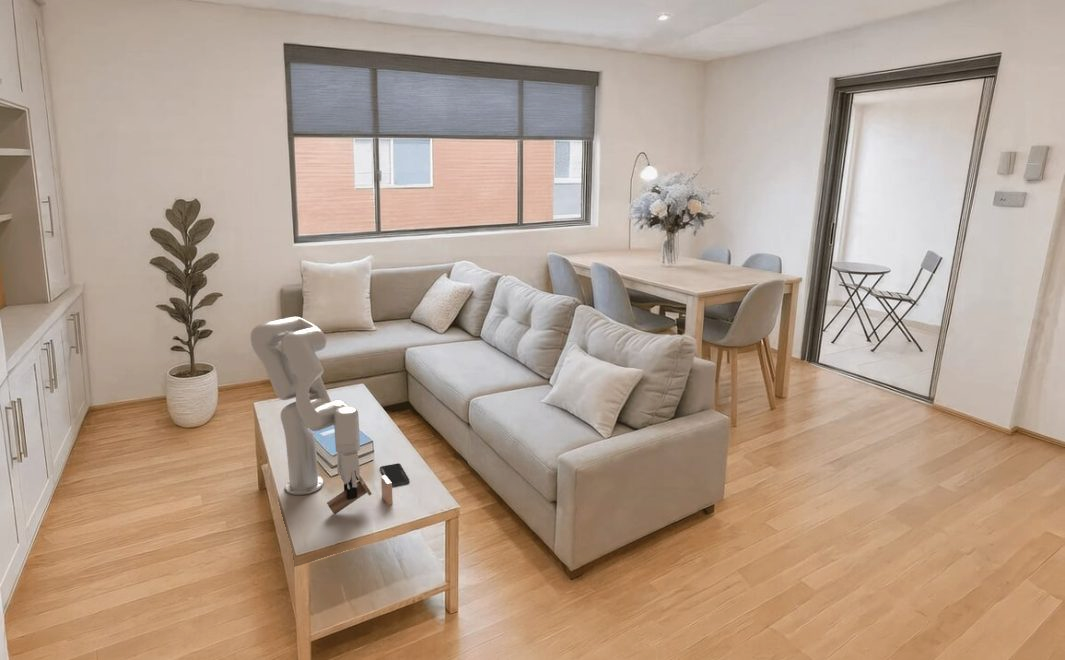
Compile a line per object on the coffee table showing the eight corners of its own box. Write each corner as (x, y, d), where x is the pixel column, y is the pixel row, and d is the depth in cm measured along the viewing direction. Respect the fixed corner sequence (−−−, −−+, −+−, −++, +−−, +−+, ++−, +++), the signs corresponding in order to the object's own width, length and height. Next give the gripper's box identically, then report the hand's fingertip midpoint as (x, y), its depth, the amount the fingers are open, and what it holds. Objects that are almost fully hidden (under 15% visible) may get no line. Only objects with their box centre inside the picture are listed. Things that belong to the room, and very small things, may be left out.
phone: (388, 485, 220) (379, 466, 233) (388, 488, 221) (379, 469, 234) (410, 481, 224) (400, 462, 237) (410, 484, 224) (400, 465, 237)
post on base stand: (330, 507, 206) (323, 497, 203) (365, 484, 210) (358, 473, 208) (336, 518, 200) (328, 507, 198) (371, 493, 205) (365, 483, 202)
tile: (381, 497, 214) (381, 476, 212) (386, 495, 215) (385, 474, 213) (387, 505, 210) (387, 483, 207) (392, 504, 210) (392, 482, 208)
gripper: (329, 437, 204) (332, 488, 209) (342, 458, 191) (346, 511, 196) (352, 433, 208) (355, 482, 213) (367, 452, 195) (369, 505, 200)
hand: (350, 496), depth 205 cm, fingers closed on post on base stand
